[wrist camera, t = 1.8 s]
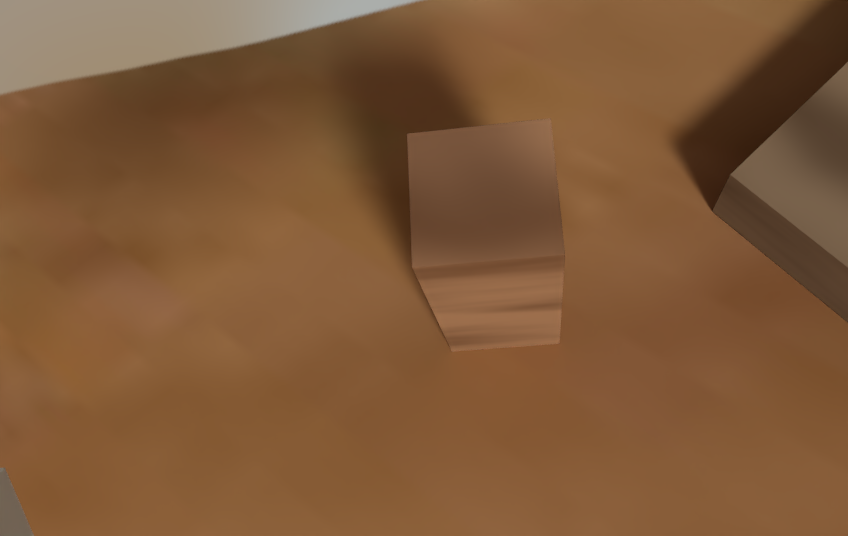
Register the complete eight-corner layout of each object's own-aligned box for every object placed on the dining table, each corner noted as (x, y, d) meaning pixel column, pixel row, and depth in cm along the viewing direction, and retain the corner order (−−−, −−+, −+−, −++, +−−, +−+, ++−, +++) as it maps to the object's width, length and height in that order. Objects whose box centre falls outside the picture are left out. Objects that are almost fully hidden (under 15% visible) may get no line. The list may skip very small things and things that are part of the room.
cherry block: (446, 251, 40) (407, 133, 28) (549, 242, 39) (550, 118, 28) (451, 351, 38) (412, 267, 27) (559, 343, 37) (565, 254, 26)
